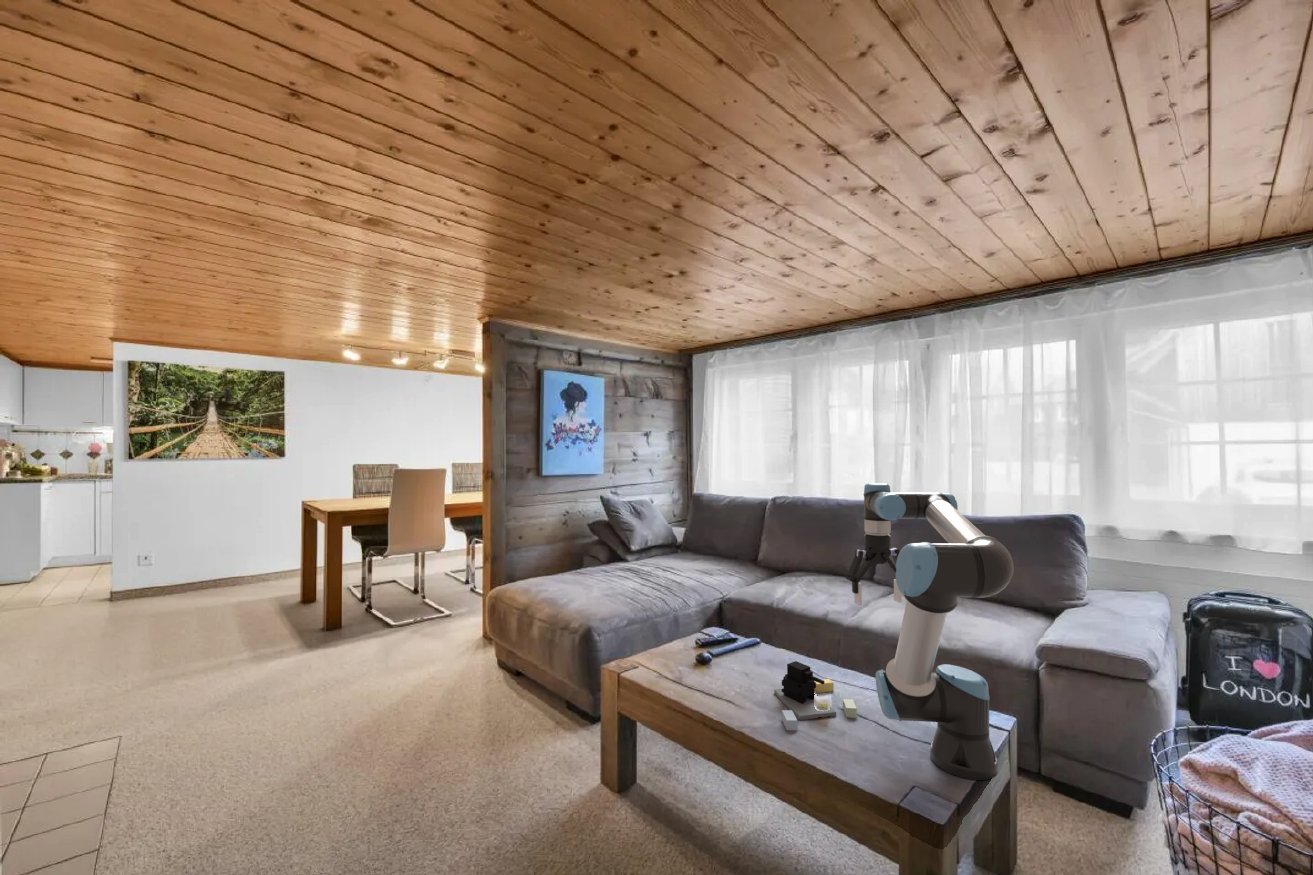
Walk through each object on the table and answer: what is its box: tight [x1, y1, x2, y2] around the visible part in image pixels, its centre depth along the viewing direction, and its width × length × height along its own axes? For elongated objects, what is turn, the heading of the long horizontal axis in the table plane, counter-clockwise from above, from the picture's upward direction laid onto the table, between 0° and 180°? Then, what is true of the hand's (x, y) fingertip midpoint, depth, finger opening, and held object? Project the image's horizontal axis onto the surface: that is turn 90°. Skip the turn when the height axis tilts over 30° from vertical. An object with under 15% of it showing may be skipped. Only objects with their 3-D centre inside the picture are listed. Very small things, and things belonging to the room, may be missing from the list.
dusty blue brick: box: [781, 709, 798, 731], centre depth 161 cm, size 6×3×3 cm, turn 1°
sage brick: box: [842, 698, 858, 719], centre depth 168 cm, size 6×3×3 cm, turn 171°
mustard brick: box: [814, 678, 834, 693], centre depth 183 cm, size 6×3×3 cm, turn 102°
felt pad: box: [773, 688, 837, 721], centre depth 173 cm, size 18×12×1 cm, turn 11°
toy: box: [781, 660, 824, 704], centre depth 174 cm, size 8×14×10 cm, turn 35°
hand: (878, 602), depth 170 cm, fingers open, 13 cm apart
